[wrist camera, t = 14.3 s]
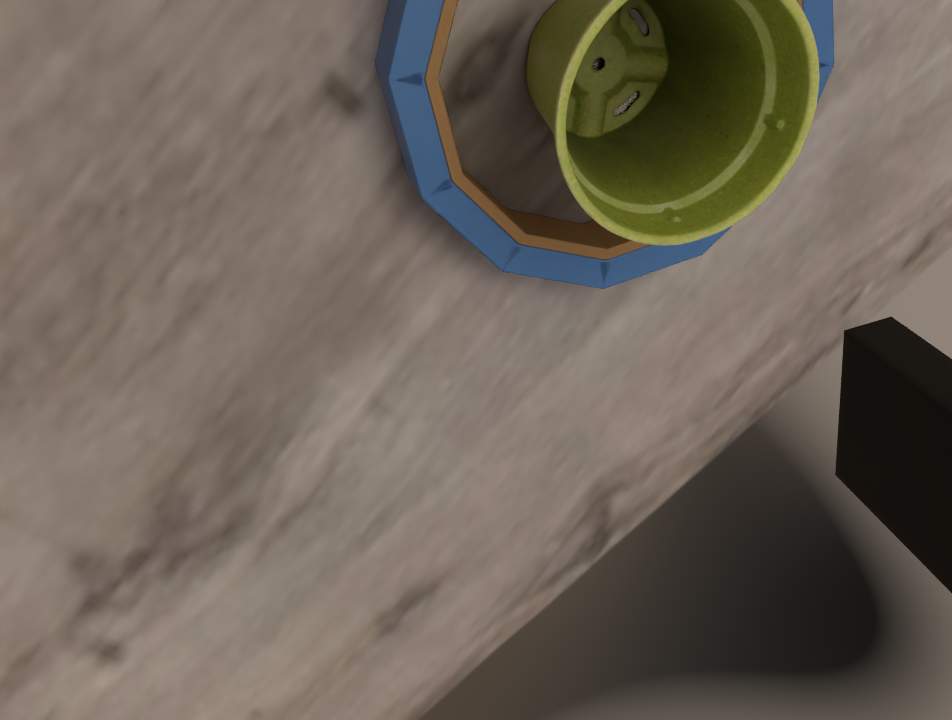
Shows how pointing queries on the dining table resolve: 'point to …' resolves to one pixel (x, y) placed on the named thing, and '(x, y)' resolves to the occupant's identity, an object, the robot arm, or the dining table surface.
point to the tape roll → (474, 209)
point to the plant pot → (674, 108)
